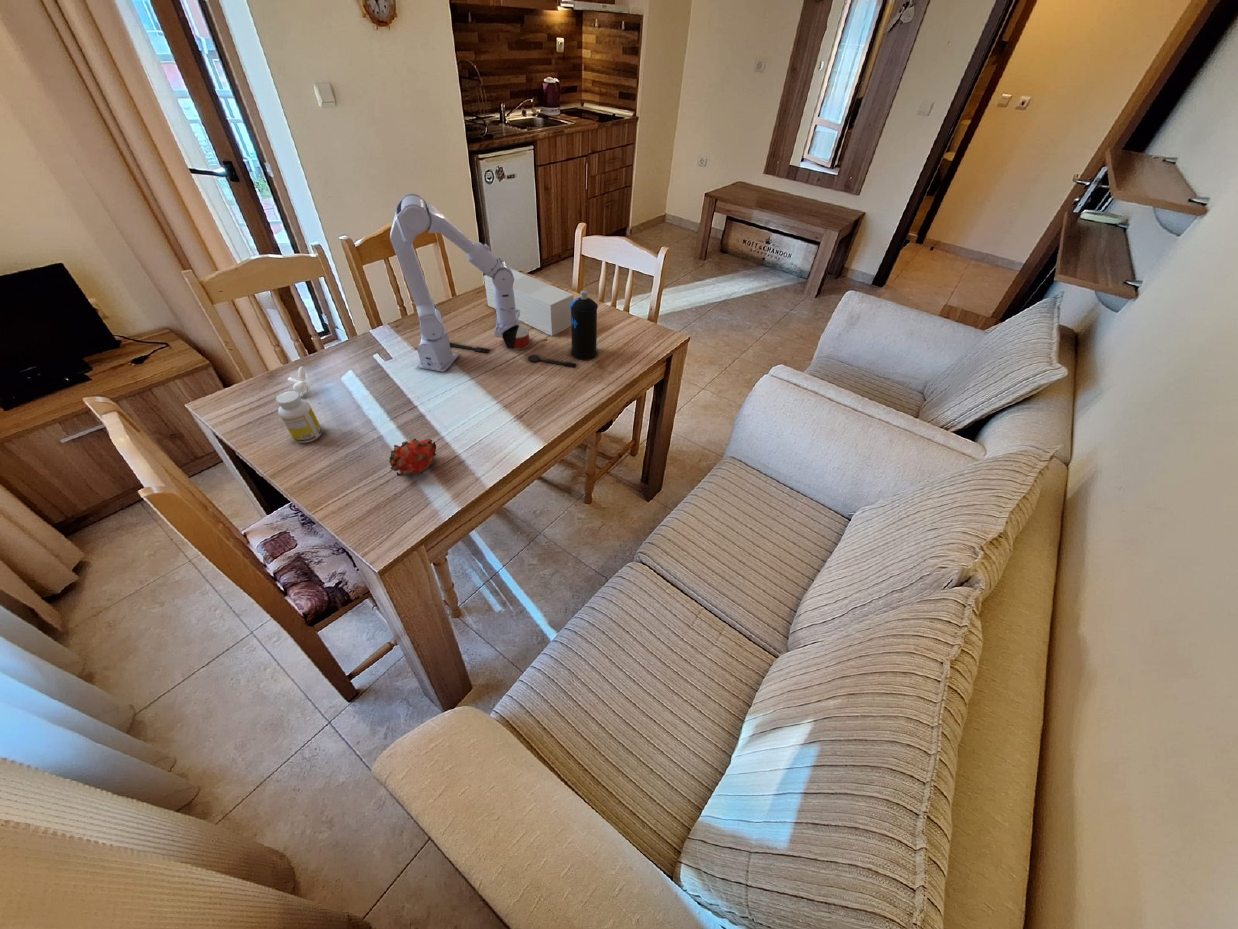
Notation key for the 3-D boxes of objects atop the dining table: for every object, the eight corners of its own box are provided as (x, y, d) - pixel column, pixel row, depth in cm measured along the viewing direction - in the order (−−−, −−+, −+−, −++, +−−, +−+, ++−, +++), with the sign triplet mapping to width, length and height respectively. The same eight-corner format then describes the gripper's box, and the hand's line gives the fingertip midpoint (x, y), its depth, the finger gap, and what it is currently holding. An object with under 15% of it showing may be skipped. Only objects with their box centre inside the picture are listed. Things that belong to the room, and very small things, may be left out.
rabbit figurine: (289, 400, 126) (281, 375, 128) (303, 404, 130) (295, 379, 132) (305, 389, 125) (297, 364, 127) (318, 393, 128) (311, 368, 130)
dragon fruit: (392, 487, 108) (436, 464, 116) (409, 484, 102) (454, 460, 110) (373, 453, 106) (420, 432, 114) (389, 448, 100) (437, 426, 108)
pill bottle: (315, 423, 120) (295, 385, 112) (328, 434, 117) (309, 396, 109) (288, 435, 116) (266, 396, 108) (301, 447, 113) (279, 408, 105)
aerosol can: (598, 347, 153) (599, 286, 139) (595, 361, 147) (596, 299, 133) (573, 345, 153) (572, 284, 139) (568, 358, 147) (567, 296, 133)
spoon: (573, 369, 143) (573, 367, 143) (526, 361, 145) (526, 359, 145) (577, 363, 146) (577, 361, 145) (530, 355, 148) (530, 353, 147)
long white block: (574, 324, 163) (573, 294, 156) (552, 336, 157) (550, 305, 149) (510, 296, 177) (507, 266, 169) (488, 305, 170) (483, 275, 163)
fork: (487, 353, 147) (487, 352, 147) (442, 346, 149) (442, 345, 149) (490, 350, 149) (490, 348, 149) (446, 342, 151) (445, 341, 151)
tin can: (524, 351, 149) (523, 339, 146) (501, 347, 150) (499, 335, 147) (533, 339, 155) (532, 327, 152) (510, 335, 156) (509, 324, 153)
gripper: (508, 319, 133) (514, 361, 142) (527, 297, 143) (531, 338, 152) (485, 315, 134) (491, 357, 143) (505, 293, 144) (510, 334, 153)
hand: (510, 347), depth 148 cm, fingers closed
